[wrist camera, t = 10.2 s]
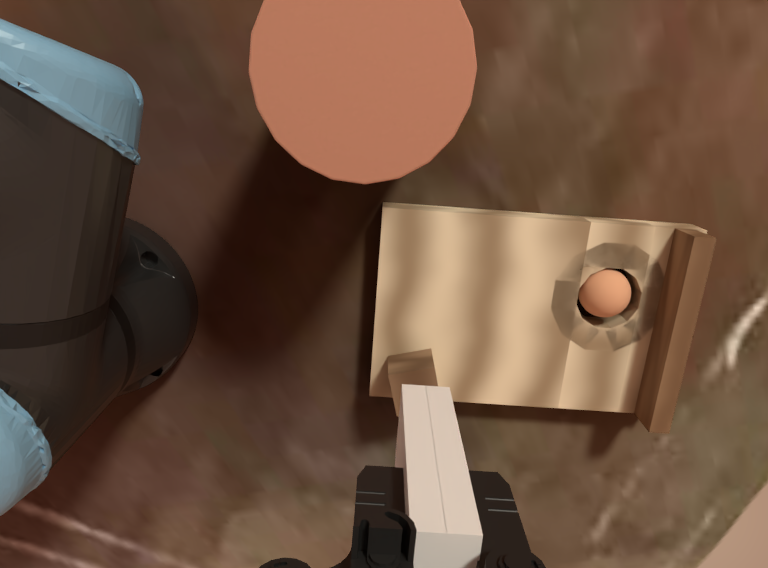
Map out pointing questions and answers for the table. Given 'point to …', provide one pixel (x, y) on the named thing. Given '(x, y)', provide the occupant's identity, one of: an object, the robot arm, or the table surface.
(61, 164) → the robot arm
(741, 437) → the table surface
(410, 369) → the walnut cube
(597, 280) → the ball
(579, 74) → the table surface
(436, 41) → the coffee jar
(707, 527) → the table surface
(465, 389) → the board
